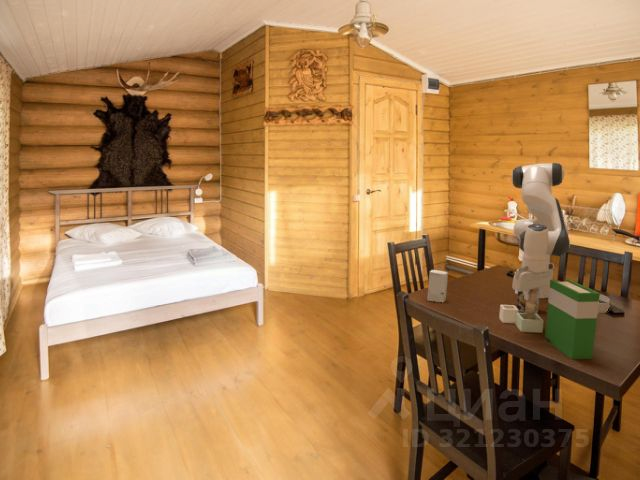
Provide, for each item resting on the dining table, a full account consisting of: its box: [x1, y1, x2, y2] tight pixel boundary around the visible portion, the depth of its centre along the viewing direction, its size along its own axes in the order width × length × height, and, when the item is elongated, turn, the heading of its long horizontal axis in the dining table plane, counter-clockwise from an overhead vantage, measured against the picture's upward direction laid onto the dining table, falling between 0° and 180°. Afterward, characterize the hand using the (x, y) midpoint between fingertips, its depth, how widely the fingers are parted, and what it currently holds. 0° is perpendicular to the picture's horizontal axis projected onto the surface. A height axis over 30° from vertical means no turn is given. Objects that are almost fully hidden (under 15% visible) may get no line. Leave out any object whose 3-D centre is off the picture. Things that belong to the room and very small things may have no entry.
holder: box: [515, 312, 545, 334], centre depth 181 cm, size 8×8×6 cm
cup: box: [498, 304, 519, 324], centre depth 190 cm, size 6×6×7 cm
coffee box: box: [515, 291, 540, 315], centre depth 202 cm, size 9×6×16 cm
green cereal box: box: [544, 279, 601, 360], centre depth 163 cm, size 18×7×24 cm, turn 3°
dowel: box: [524, 287, 537, 320], centre depth 179 cm, size 4×4×15 cm
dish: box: [598, 293, 611, 314], centre depth 212 cm, size 22×22×5 cm
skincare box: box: [426, 269, 449, 304], centre depth 219 cm, size 8×6×15 cm
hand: (531, 298), depth 179 cm, fingers closed on dowel, 3 cm apart
